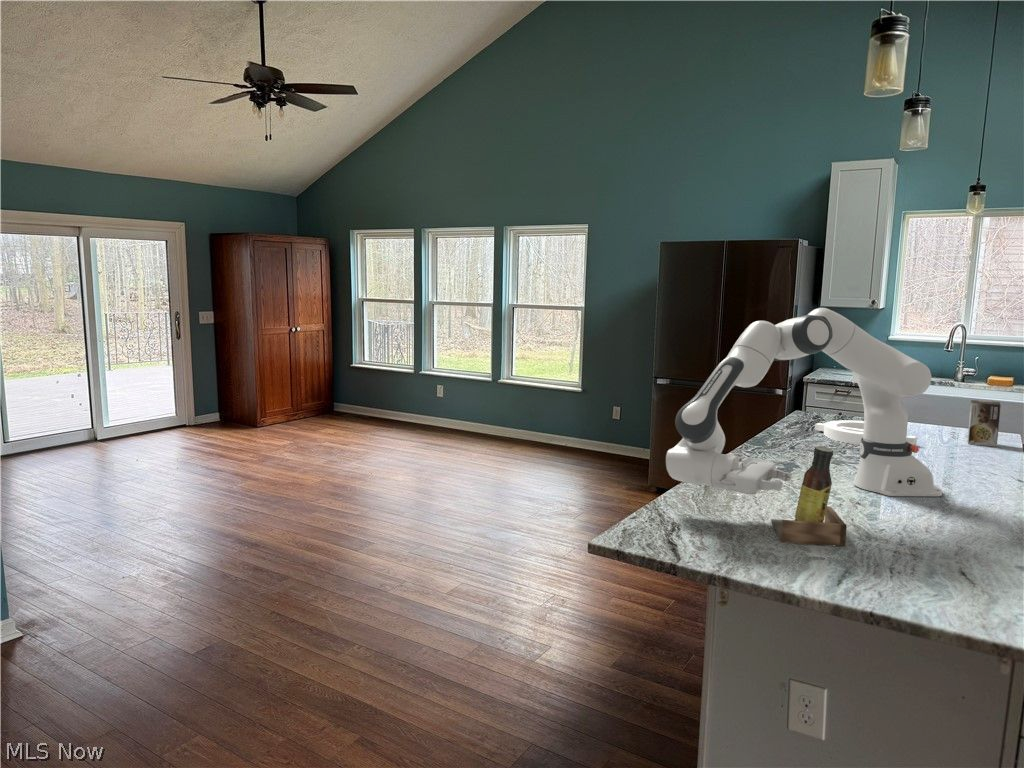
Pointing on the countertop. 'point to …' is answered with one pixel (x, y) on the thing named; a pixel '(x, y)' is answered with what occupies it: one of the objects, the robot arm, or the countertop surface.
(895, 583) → the countertop surface
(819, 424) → the ring with crossbar
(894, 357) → the robot arm
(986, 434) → the food box
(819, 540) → the corner arena
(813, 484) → the sauce bottle
